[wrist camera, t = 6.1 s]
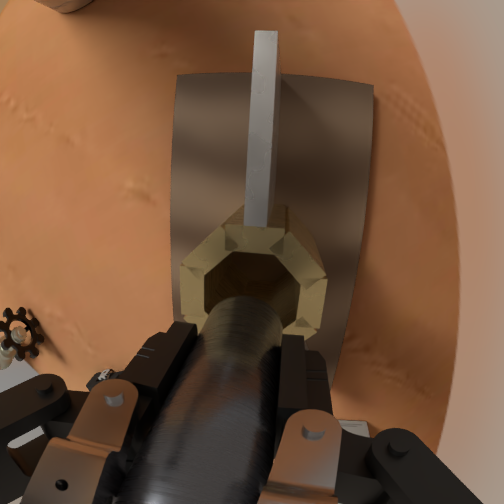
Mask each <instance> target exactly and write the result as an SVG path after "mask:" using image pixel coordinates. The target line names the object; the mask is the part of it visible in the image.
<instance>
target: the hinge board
mask: <svg viewBox="0 0 504 504" xmlns="http://www.w3.org/2000/svg"><path fill="white" fill-rule="evenodd" d="M251 85H252V73H201V74H185V75H177V83H176V95H175V107H174V121H173V138H172V160H171V200H170V237H171V277H172V300H173V317H174V321H181V322H186V321H185V320H184V319H183V318H184V316H185V315H183V314H181V295H180V265H181V264H182V261H183V260H184V259H185V258H186V257H187V256H188V255H189V254H190V253H191V252H192V251H193V250H194V249H195V248H196V247H197V246H198V245H199V244H200V243H201V242H202V241H204V240H205V239H206V238H207V237H208V236H209V235H210V234H211V233H212V232H213V231H214V230H215V229H216V228H217V227H219V226H220V225H221V224H222V223H223V222H224V221H225V220H226V219H227V218H229V217H230V216H231V215H232V214H233V213H234V212H235V211H236V210H238V209H239V208H240V207H241V206H242V205H243V204H244V203H245V187H246V169H247V151H248V134H249V117H250V101H251ZM373 88H374V85H370V84H365V83H359V82H353V81H346V80H339V79H332V78H323V77H314V76H304V75H292V74H281V96H280V114H279V132H278V149H277V165H276V180H275V195H274V204H281V205H285V209H286V208H287V207H289V208H290V209H291V210H292V211H293V212H294V213H295V215H296V216H297V217H298V218H299V219H300V220H301V222H302V223H303V224H304V225H305V226H306V228H307V229H308V230H309V231H310V232H311V234H312V235H313V238H314V240H315V243H316V246H317V249H318V252H319V255H320V258H321V260H322V263H323V266H324V269H325V272H326V276H327V279H328V280H327V287H326V293H325V299H324V305H323V311H322V317H321V323H320V329H318V328H316V329H317V333H315V334H314V335H312V336H311V337H309V338H308V339H306V340H305V342H306V344H307V347H308V350H312V351H319V353H320V354H321V355H322V356H323V358H324V359H325V360H326V367H327V374H328V381H329V388H330V390H331V386H332V383H333V379H334V375H335V371H336V368H337V364H338V360H339V356H340V352H341V347H342V343H343V339H344V335H345V330H346V326H347V321H348V316H349V311H350V306H351V301H352V296H353V291H354V286H355V280H356V274H357V268H358V262H359V256H360V250H361V243H362V236H363V229H364V221H365V213H366V204H367V195H368V185H369V174H370V162H371V147H372V128H373ZM232 262H233V263H234V264H235V265H236V266H237V267H238V268H239V269H240V271H241V272H242V273H243V274H244V275H245V276H246V277H247V278H248V279H249V280H259V281H270V282H274V281H276V280H277V279H278V278H280V277H281V276H282V275H283V274H285V273H286V272H287V271H288V270H287V269H286V267H285V266H284V265H283V264H282V263H281V262H280V261H279V259H278V258H277V257H276V256H275V255H272V254H261V253H249V252H237V251H232ZM198 335H199V334H198Z"/></svg>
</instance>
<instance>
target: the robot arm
mask: <svg viewBox="0 0 504 504" xmlns="http://www.w3.org/2000/svg"><path fill="white" fill-rule="evenodd" d="M34 1H36V2H39V3H41V4H43V5H45V6H47V7H49V8H51V9H53V10H56V11H58V12H61V13H68V12H72V11H75V10H77V9H79V8H82V7H83V6H85V5H87V4H88V3H90V2H91V1H92V0H34ZM197 337H198V329H197V325H196V324H195V323H188V322H181V321H174V323H173V324H172V325H171V327H170V328H169V330H168V331H167V332H166V333H163V332H158V333H157V334H155V335H153V336H152V337H150V338H148V340H147V341H146V342H145V343H144V345H143V346H142V349H140V350H139V351H138V353H137V355H136V356H134V358H133V359H132V360H131V362H130V363H129V364H128V366H127V367H126V368H125V370H124V371H123V372H122V374H121V375H120V376H119V378H118V379H108V380H105V381H102V382H100V383H98V384H97V385H95V386H94V387H93V388H92V390H91V392H83V391H71V390H67V387H66V384H65V382H64V380H63V379H62V378H61V377H59V376H57V375H54V374H41V375H38V376H35V377H33V378H31V379H29V380H27V381H25V382H23V383H21V384H18V385H16V386H14V387H12V388H10V389H8V390H6V391H3V392H1V393H0V504H8V503H10V502H12V501H14V500H15V499H17V498H19V497H21V496H23V497H22V499H21V502H20V504H112V502H113V500H114V499H115V498H116V497H117V494H118V492H119V489H120V487H121V485H122V483H123V481H124V479H125V477H126V475H127V473H128V471H129V469H130V467H131V465H132V463H133V461H134V459H135V457H136V455H137V453H138V451H139V449H140V447H141V445H142V443H143V441H144V439H145V437H146V435H147V433H148V431H149V429H150V427H151V425H152V424H153V422H154V420H155V418H156V416H157V414H158V412H159V410H160V408H161V406H162V404H163V402H164V400H165V398H166V396H167V394H168V392H169V391H170V389H171V387H172V385H173V383H174V381H175V379H176V377H177V375H178V373H179V371H180V369H181V367H182V366H183V364H184V362H185V360H186V358H187V356H188V354H189V352H190V350H191V348H192V346H193V344H194V343H195V341H196V339H197ZM38 426H41V428H42V430H43V432H44V434H42V435H41V436H39V437H37V438H35V439H34V440H31V441H30V442H28V443H26V444H24V445H22V446H20V447H18V448H10V447H8V446H7V445H8V443H9V442H10V441H12V440H14V439H15V438H17V437H19V436H21V435H23V434H25V433H27V432H29V431H31V430H33V429H35V428H37V427H38ZM275 431H276V436H275V448H274V459H275V460H274V463H273V466H272V469H271V472H270V475H269V478H268V480H267V483H266V484H265V485H264V487H263V490H262V492H261V495H260V497H259V500H258V503H257V504H338V503H341V504H483V503H482V502H481V501H480V500H479V499H478V498H477V497H476V496H475V495H474V494H473V493H472V492H471V491H470V490H469V489H468V488H467V487H466V486H465V485H464V484H463V483H462V482H461V481H460V480H459V479H458V478H457V477H456V476H455V475H454V474H453V473H452V472H451V470H450V469H448V467H447V466H446V465H445V464H444V463H443V462H442V461H441V460H440V459H439V458H438V457H437V456H436V455H435V454H434V453H433V452H432V451H431V450H430V449H429V448H428V447H427V446H426V445H425V444H424V443H423V442H422V441H421V440H420V439H419V438H418V437H417V436H416V435H415V434H413V433H412V432H410V431H408V430H405V429H400V428H390V429H386V430H383V431H382V432H380V433H379V434H377V435H376V436H375V438H370V437H365V436H361V435H356V434H353V433H351V432H348V431H346V430H345V429H343V428H342V427H341V425H340V423H339V421H338V420H337V419H336V418H335V417H334V416H333V411H332V403H331V395H330V388H329V381H328V374H327V367H326V360H325V359H324V358H323V356H322V355H321V354H320V353H319V351H312V350H305V343H304V335H291V334H282V341H281V351H280V366H279V380H278V393H277V406H276V418H275Z"/></svg>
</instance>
